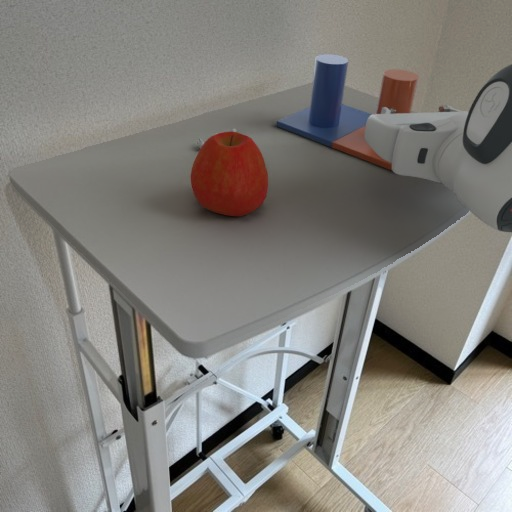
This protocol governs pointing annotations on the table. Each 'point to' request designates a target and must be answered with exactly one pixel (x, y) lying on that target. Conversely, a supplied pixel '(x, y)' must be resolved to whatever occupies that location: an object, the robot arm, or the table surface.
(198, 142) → the game pieces
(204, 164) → the apple
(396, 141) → the robot arm
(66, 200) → the table surface
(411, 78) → the terracotta canister
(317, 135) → the board
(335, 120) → the blue canister
